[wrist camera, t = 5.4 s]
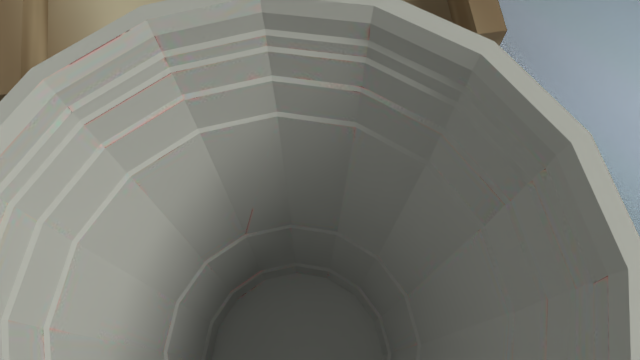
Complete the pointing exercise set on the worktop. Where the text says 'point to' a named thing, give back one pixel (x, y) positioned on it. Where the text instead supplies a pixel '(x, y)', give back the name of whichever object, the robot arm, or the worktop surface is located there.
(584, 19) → the worktop surface
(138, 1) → the wooden tray
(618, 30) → the worktop surface
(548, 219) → the plastic cup
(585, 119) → the worktop surface
